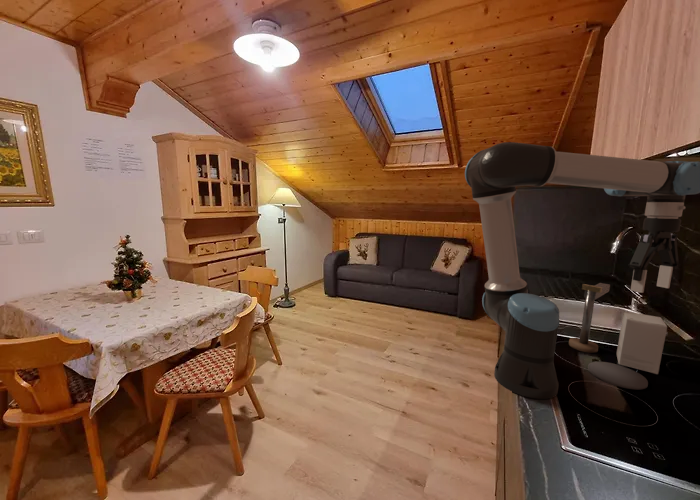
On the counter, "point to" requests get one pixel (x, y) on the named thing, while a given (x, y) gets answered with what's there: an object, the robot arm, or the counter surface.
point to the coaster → (618, 375)
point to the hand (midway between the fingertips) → (650, 289)
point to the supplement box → (641, 341)
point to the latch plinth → (583, 345)
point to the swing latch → (590, 307)
